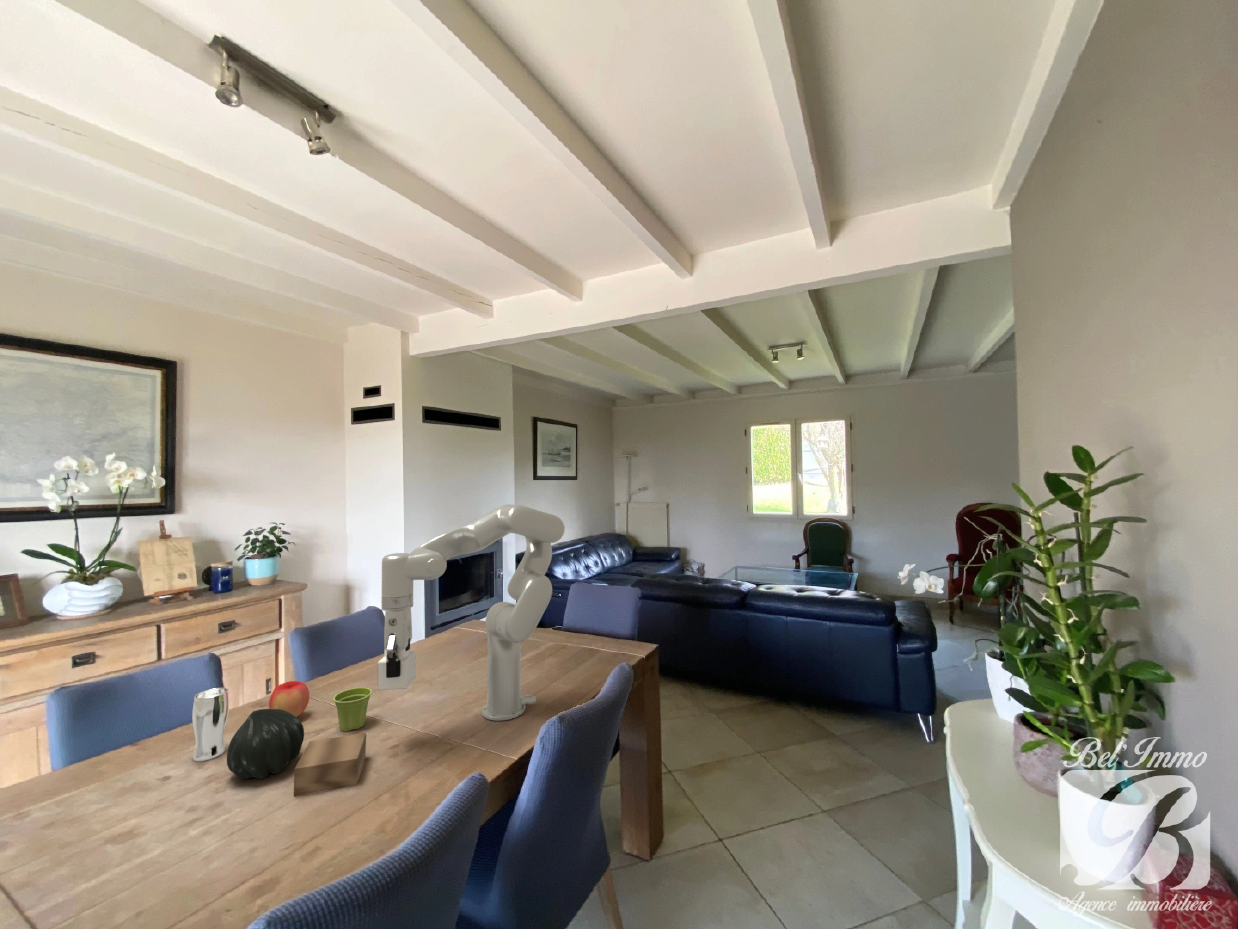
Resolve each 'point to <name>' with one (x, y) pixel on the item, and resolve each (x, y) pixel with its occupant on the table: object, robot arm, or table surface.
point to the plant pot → (352, 707)
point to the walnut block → (330, 764)
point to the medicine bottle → (405, 670)
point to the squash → (265, 743)
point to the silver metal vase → (210, 722)
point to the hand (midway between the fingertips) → (397, 670)
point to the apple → (290, 697)
